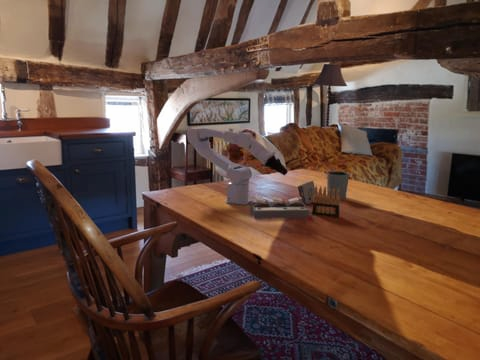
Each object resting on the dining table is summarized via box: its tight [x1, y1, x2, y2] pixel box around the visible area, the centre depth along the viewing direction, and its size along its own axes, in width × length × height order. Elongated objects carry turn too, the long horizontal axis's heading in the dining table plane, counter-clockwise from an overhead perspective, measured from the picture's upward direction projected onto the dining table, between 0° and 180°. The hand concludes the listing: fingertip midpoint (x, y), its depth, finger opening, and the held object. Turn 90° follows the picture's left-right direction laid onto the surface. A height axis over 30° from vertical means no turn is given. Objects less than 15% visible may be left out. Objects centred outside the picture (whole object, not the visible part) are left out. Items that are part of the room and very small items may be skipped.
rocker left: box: [254, 196, 270, 204], centre depth 150 cm, size 5×3×2 cm, turn 96°
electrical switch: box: [297, 180, 316, 205], centre depth 166 cm, size 9×5×9 cm, turn 141°
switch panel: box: [250, 201, 310, 219], centre depth 149 cm, size 22×12×4 cm, turn 94°
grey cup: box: [326, 170, 350, 201], centre depth 172 cm, size 10×10×12 cm
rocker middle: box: [271, 196, 287, 204], centre depth 150 cm, size 5×3×2 cm, turn 96°
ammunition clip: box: [311, 185, 341, 219], centre depth 146 cm, size 11×2×12 cm, turn 70°
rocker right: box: [287, 196, 303, 204], centre depth 151 cm, size 5×3×2 cm, turn 93°
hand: (284, 172), depth 150 cm, fingers open, 7 cm apart
